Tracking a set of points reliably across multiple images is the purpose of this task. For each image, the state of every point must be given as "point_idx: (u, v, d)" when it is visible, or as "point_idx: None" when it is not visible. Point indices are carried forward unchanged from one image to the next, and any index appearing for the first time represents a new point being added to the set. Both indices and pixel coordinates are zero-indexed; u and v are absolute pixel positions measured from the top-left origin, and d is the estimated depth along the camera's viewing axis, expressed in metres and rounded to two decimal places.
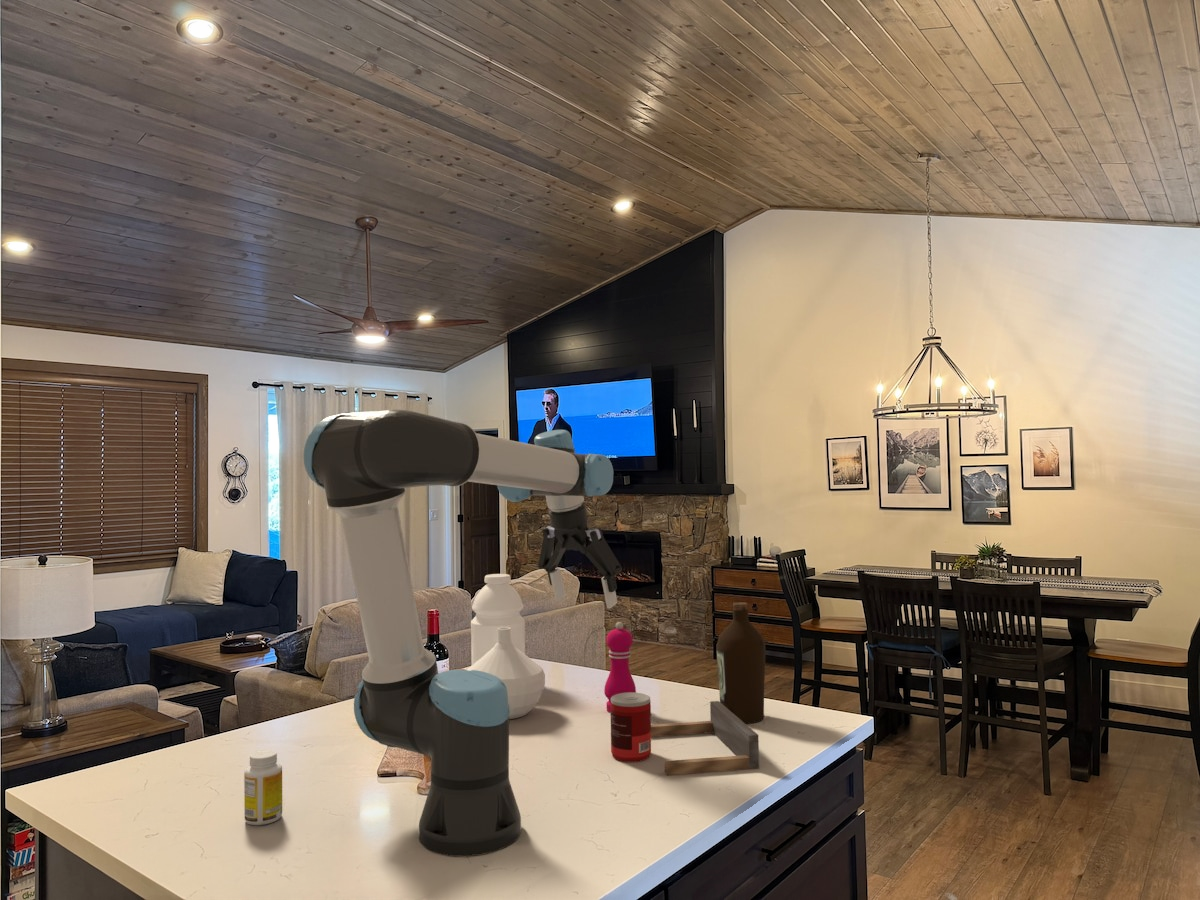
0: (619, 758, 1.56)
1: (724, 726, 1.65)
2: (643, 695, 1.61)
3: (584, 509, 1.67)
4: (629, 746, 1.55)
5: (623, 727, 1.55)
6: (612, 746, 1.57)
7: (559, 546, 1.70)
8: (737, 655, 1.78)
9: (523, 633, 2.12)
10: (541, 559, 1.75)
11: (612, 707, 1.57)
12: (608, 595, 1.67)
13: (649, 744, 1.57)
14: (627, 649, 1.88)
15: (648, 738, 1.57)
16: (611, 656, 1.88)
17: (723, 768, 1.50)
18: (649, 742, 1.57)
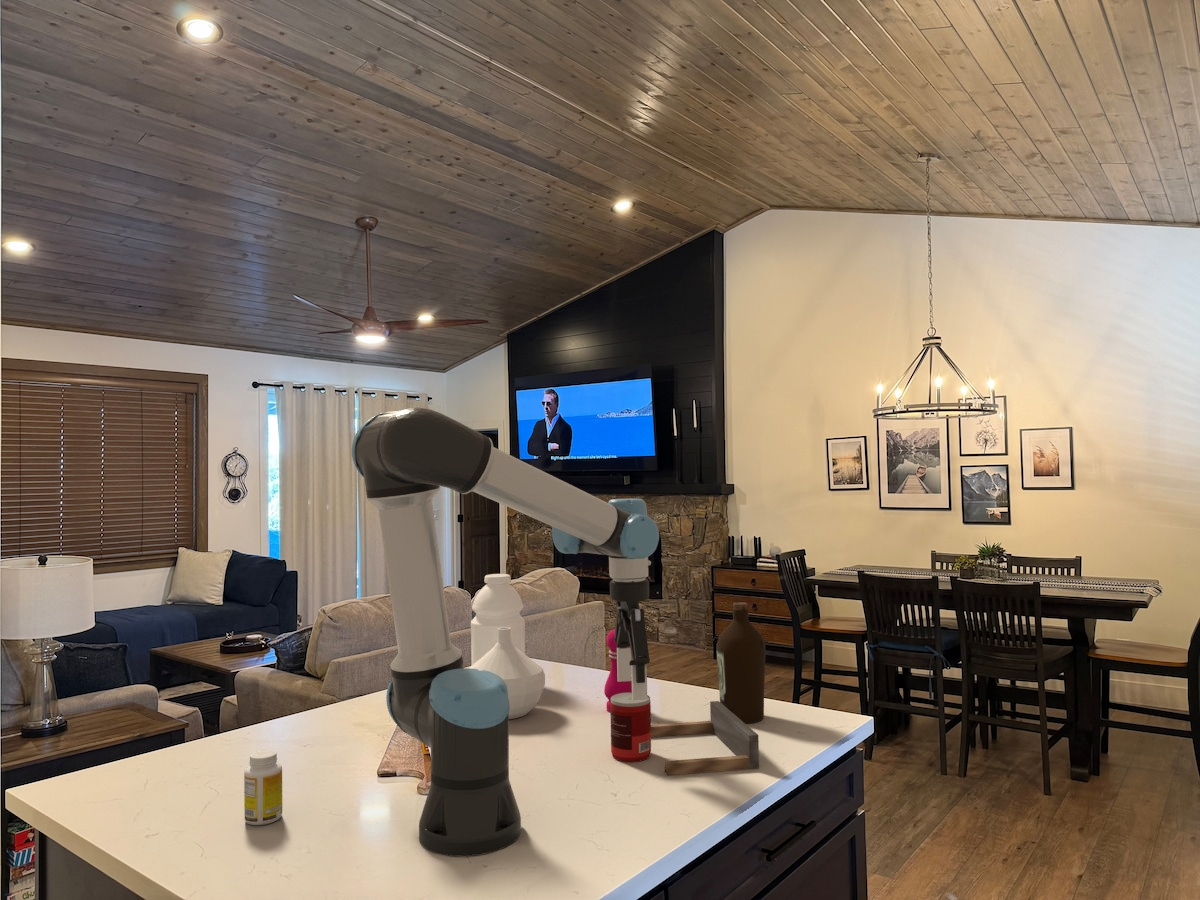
0: (619, 758, 1.56)
1: (724, 726, 1.65)
2: None
3: (639, 586, 1.56)
4: (629, 746, 1.55)
5: (623, 727, 1.55)
6: (612, 746, 1.57)
7: (618, 620, 1.62)
8: (737, 655, 1.78)
9: (523, 633, 2.12)
10: (615, 631, 1.68)
11: (612, 707, 1.57)
12: (634, 686, 1.52)
13: (649, 744, 1.57)
14: None
15: (648, 738, 1.57)
16: (611, 656, 1.88)
17: (723, 768, 1.50)
18: (649, 742, 1.57)
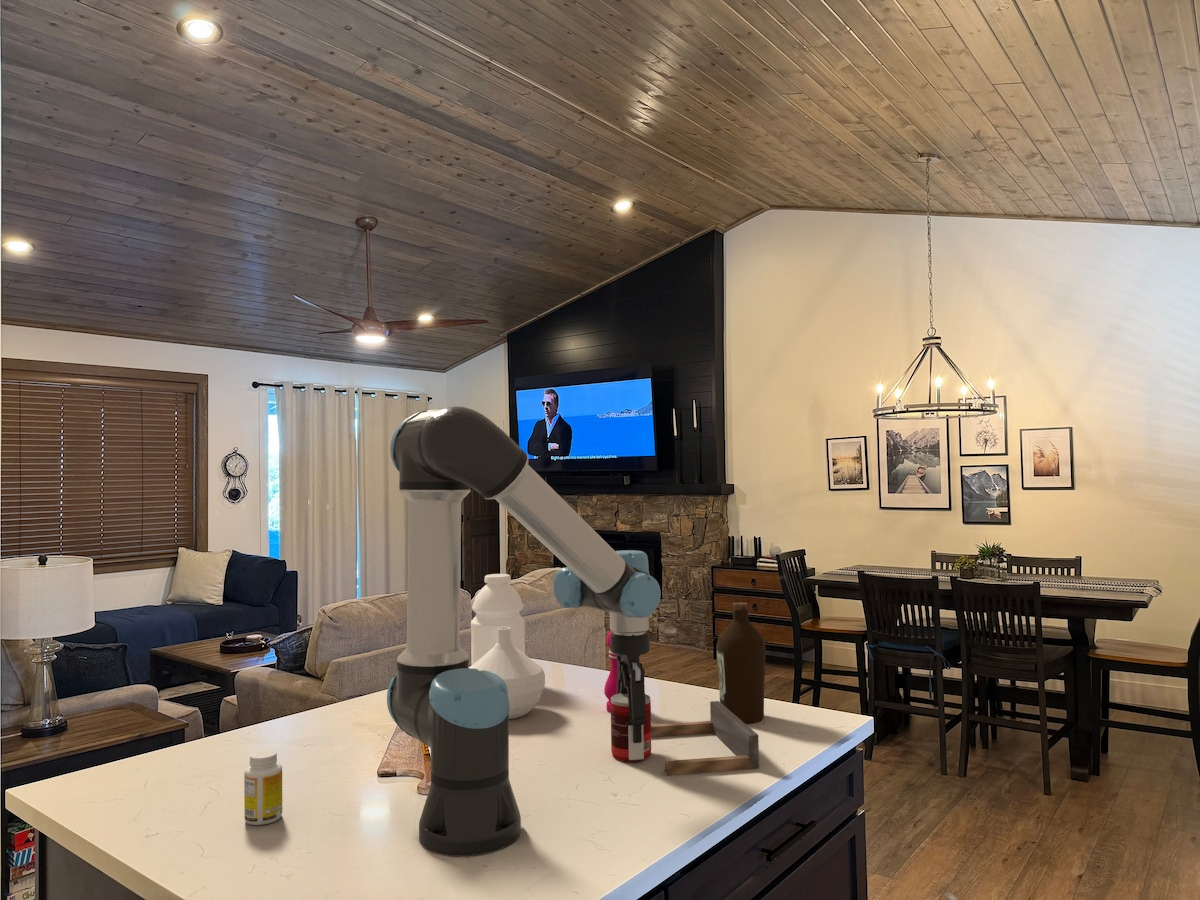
0: (619, 758, 1.56)
1: (724, 726, 1.65)
2: None
3: (639, 640, 1.56)
4: None
5: (623, 727, 1.55)
6: (612, 746, 1.57)
7: (619, 674, 1.61)
8: (737, 655, 1.78)
9: (523, 634, 2.12)
10: (617, 692, 1.65)
11: (612, 707, 1.57)
12: (631, 745, 1.54)
13: (649, 744, 1.57)
14: None
15: (648, 738, 1.57)
16: (611, 656, 1.88)
17: (723, 768, 1.50)
18: (649, 742, 1.57)
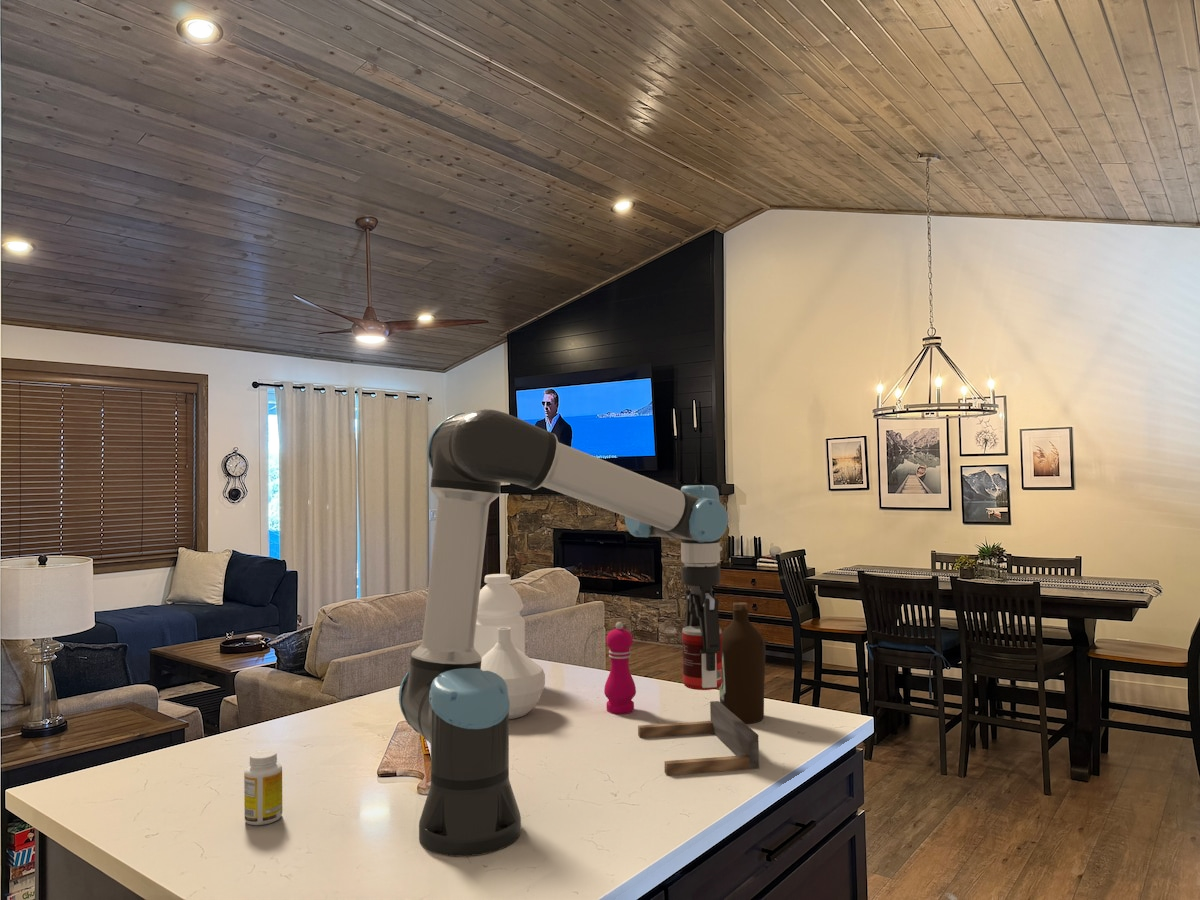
0: (692, 686, 1.59)
1: (724, 726, 1.65)
2: None
3: (712, 571, 1.59)
4: None
5: (696, 656, 1.58)
6: (685, 675, 1.60)
7: (690, 606, 1.64)
8: (737, 655, 1.78)
9: (523, 633, 2.12)
10: (686, 625, 1.68)
11: (685, 637, 1.60)
12: (704, 673, 1.57)
13: (721, 673, 1.60)
14: (627, 649, 1.88)
15: (720, 667, 1.60)
16: (611, 656, 1.88)
17: (723, 768, 1.50)
18: (721, 671, 1.60)
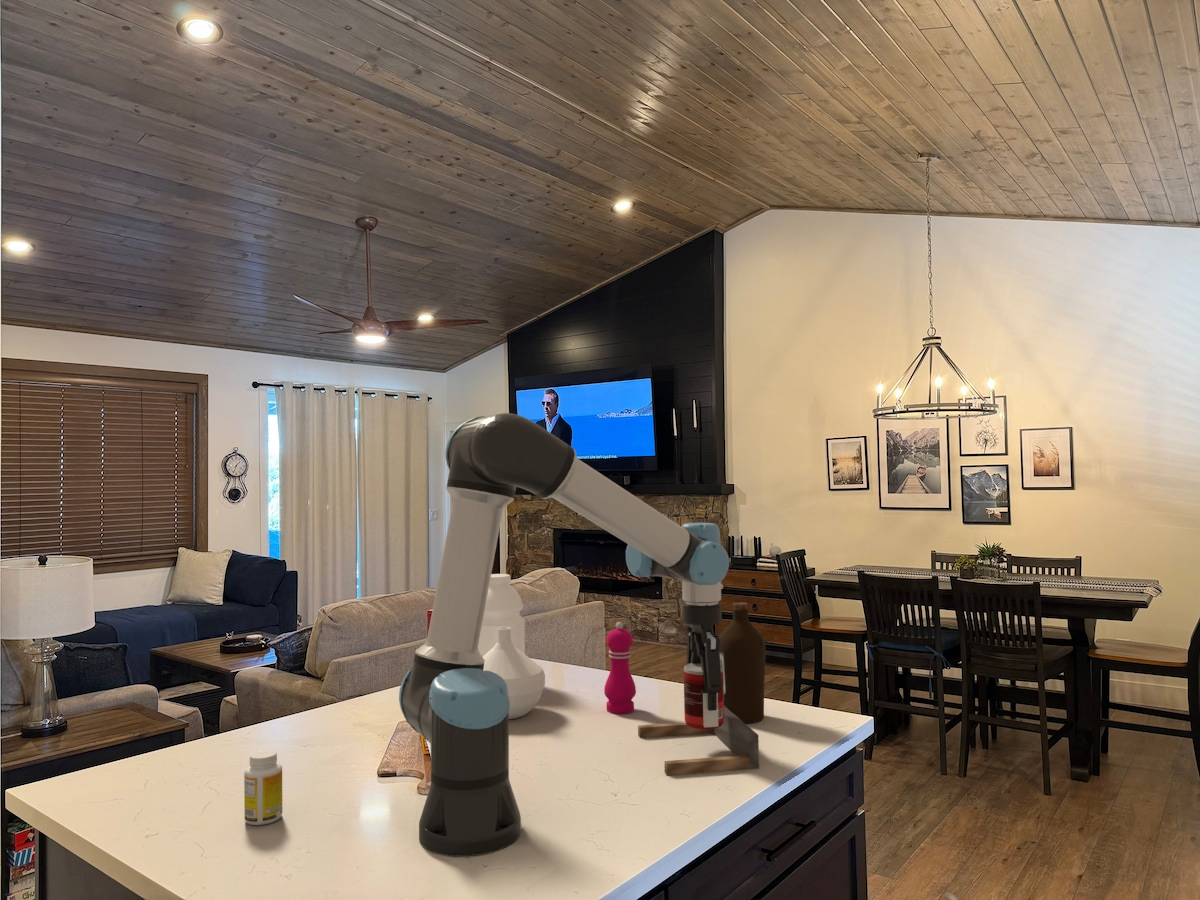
0: (694, 725, 1.58)
1: (724, 726, 1.65)
2: None
3: (713, 610, 1.59)
4: None
5: (697, 695, 1.58)
6: (686, 714, 1.60)
7: (691, 644, 1.64)
8: (737, 655, 1.78)
9: (523, 633, 2.12)
10: (687, 662, 1.68)
11: (686, 676, 1.60)
12: (706, 713, 1.57)
13: (722, 712, 1.60)
14: (627, 649, 1.88)
15: (722, 706, 1.60)
16: (611, 656, 1.88)
17: (723, 768, 1.50)
18: (722, 710, 1.60)
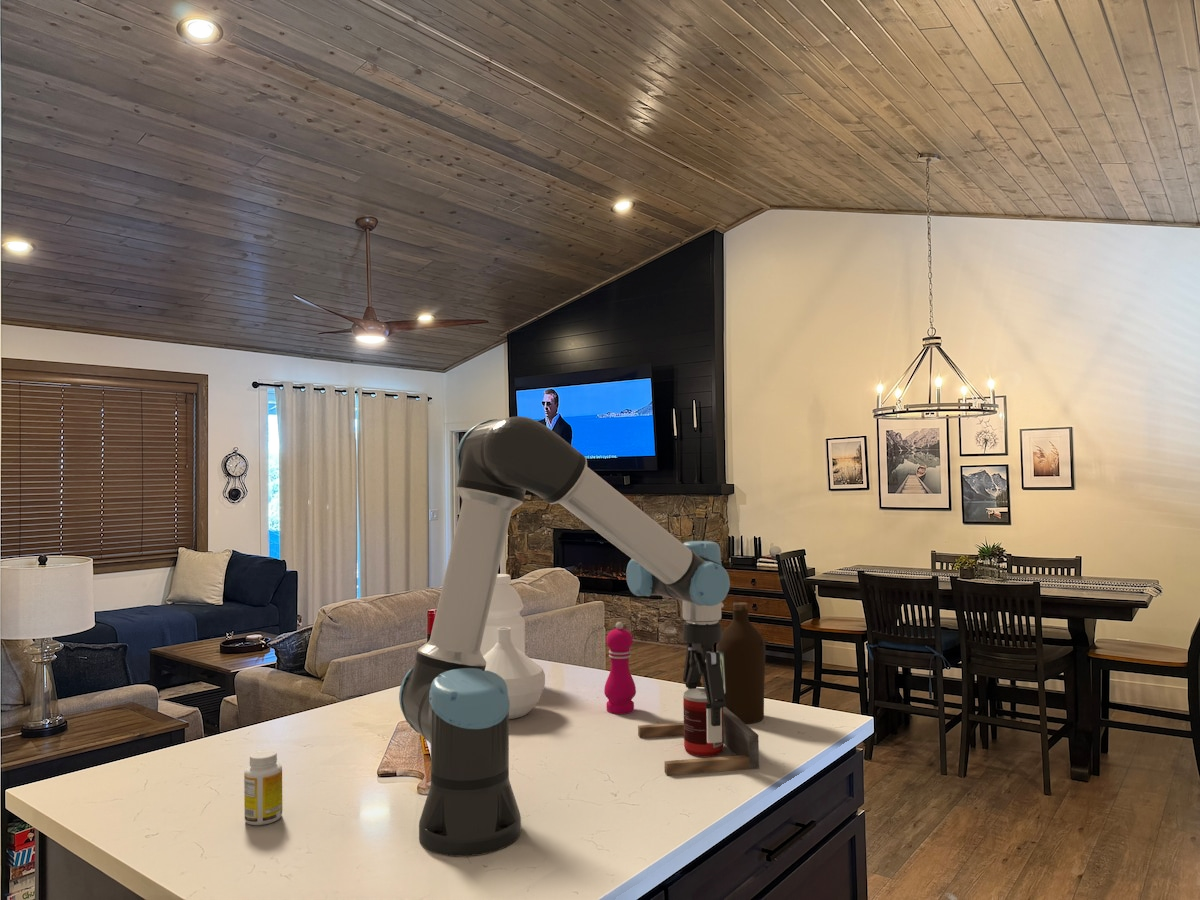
0: (693, 753, 1.58)
1: (724, 726, 1.65)
2: None
3: (713, 629, 1.59)
4: (703, 740, 1.57)
5: (697, 722, 1.58)
6: (686, 741, 1.60)
7: (690, 661, 1.64)
8: (737, 655, 1.78)
9: (523, 633, 2.12)
10: (684, 672, 1.70)
11: (686, 703, 1.60)
12: (710, 728, 1.54)
13: (722, 739, 1.60)
14: (627, 649, 1.88)
15: None
16: (611, 656, 1.88)
17: (723, 768, 1.50)
18: (722, 737, 1.60)
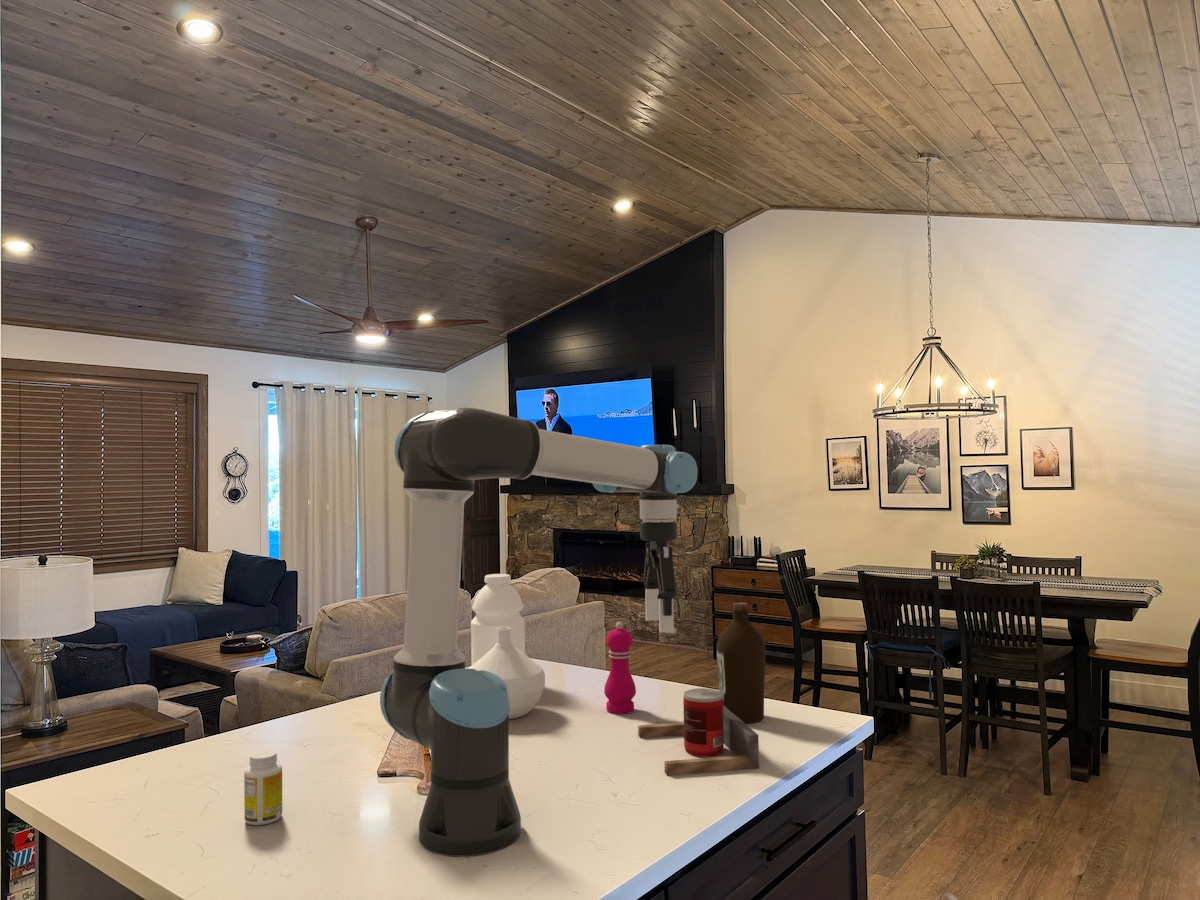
0: (693, 753, 1.58)
1: (724, 726, 1.65)
2: (715, 691, 1.64)
3: (667, 526, 1.65)
4: (703, 741, 1.57)
5: (697, 723, 1.58)
6: (686, 741, 1.60)
7: (647, 560, 1.71)
8: (737, 655, 1.78)
9: (523, 633, 2.12)
10: (644, 574, 1.77)
11: (686, 703, 1.60)
12: (662, 618, 1.61)
13: (722, 739, 1.60)
14: (627, 649, 1.88)
15: (721, 733, 1.59)
16: (611, 656, 1.88)
17: (723, 768, 1.50)
18: (722, 737, 1.60)
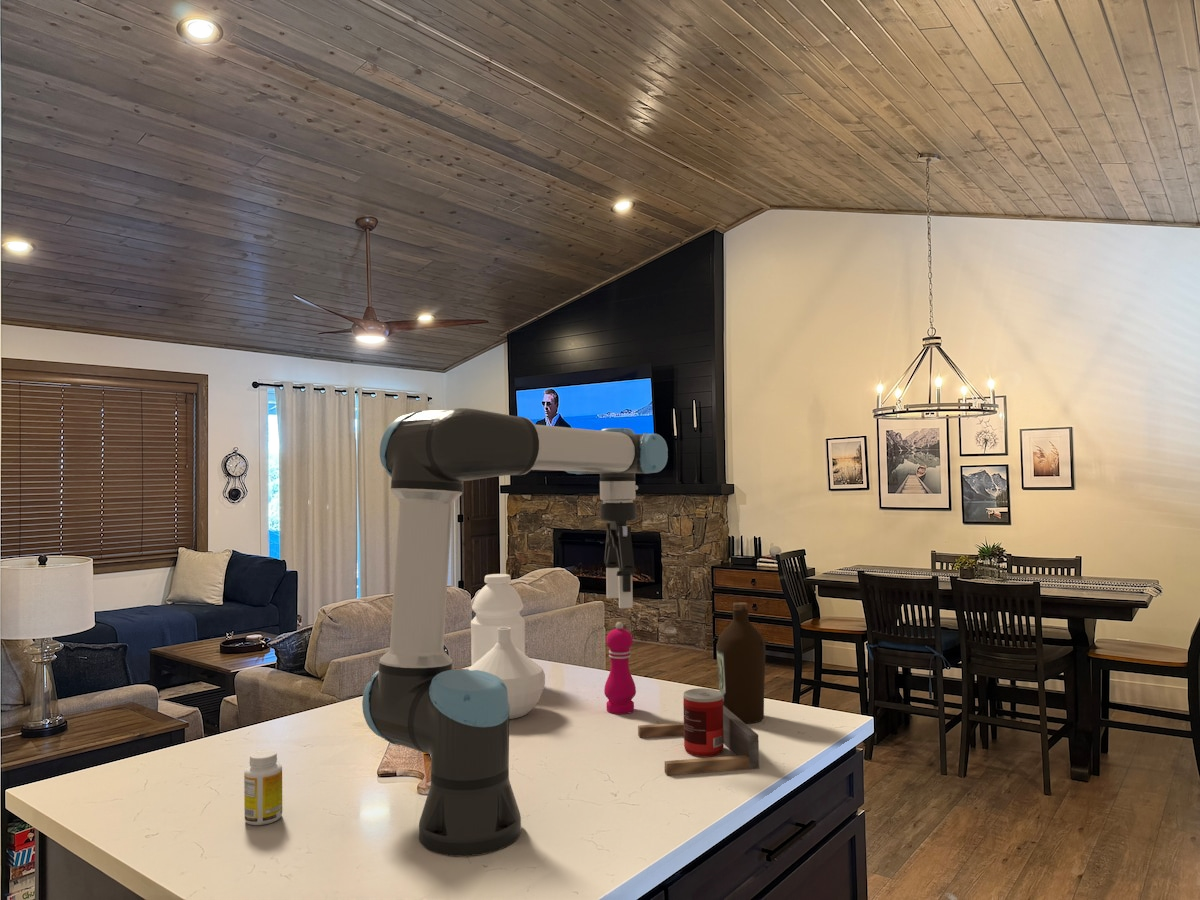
0: (693, 753, 1.58)
1: (724, 726, 1.65)
2: (715, 691, 1.64)
3: (626, 507, 1.72)
4: (703, 741, 1.57)
5: (697, 723, 1.58)
6: (686, 741, 1.60)
7: (608, 540, 1.77)
8: (737, 655, 1.78)
9: (523, 633, 2.12)
10: (605, 553, 1.83)
11: (686, 703, 1.60)
12: (621, 595, 1.67)
13: (722, 739, 1.60)
14: (627, 649, 1.88)
15: (721, 733, 1.59)
16: (611, 656, 1.88)
17: (723, 768, 1.50)
18: (722, 737, 1.60)
